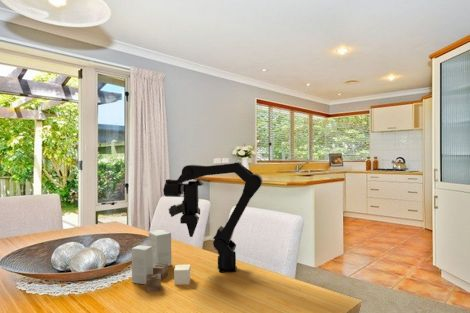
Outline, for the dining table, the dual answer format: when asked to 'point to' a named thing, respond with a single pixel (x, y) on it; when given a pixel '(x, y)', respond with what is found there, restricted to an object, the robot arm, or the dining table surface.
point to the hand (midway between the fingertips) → (191, 236)
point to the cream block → (181, 274)
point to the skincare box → (141, 263)
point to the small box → (160, 246)
